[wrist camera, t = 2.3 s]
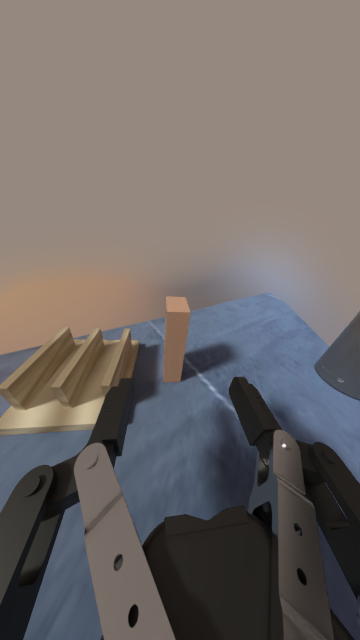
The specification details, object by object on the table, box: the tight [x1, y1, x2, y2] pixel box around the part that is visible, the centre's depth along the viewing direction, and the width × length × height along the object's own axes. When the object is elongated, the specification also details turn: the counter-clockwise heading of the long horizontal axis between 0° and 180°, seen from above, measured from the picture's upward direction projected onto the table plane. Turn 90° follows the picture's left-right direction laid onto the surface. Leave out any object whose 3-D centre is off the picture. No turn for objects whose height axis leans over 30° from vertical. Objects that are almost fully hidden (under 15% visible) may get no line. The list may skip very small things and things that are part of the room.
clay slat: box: [163, 297, 190, 382], centre depth 23 cm, size 3×5×14 cm, turn 5°
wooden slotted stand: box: [0, 327, 139, 436], centre depth 23 cm, size 14×16×6 cm
